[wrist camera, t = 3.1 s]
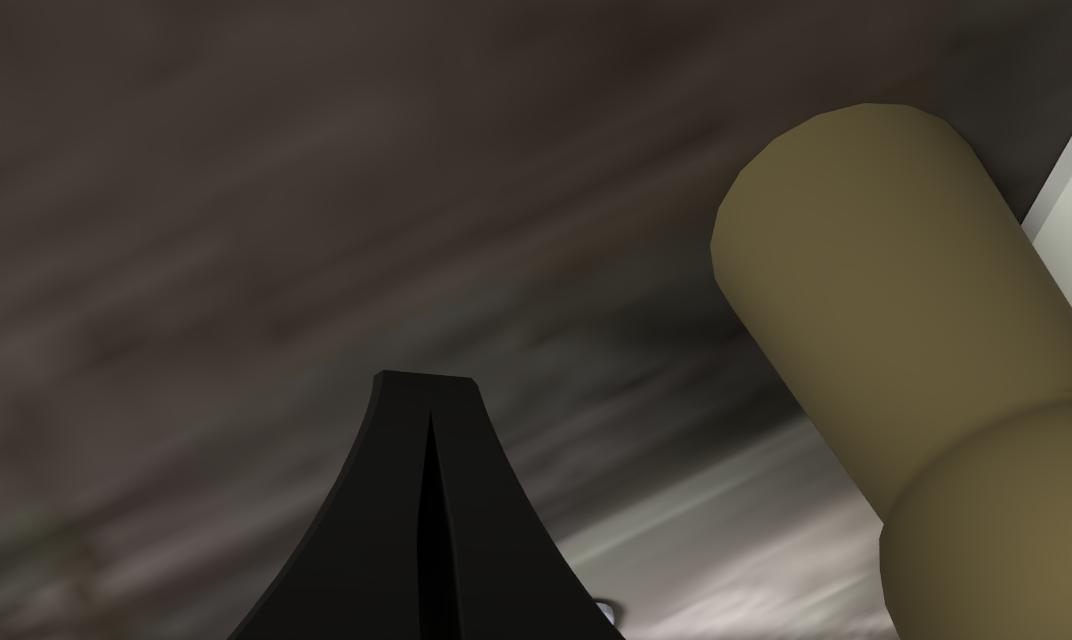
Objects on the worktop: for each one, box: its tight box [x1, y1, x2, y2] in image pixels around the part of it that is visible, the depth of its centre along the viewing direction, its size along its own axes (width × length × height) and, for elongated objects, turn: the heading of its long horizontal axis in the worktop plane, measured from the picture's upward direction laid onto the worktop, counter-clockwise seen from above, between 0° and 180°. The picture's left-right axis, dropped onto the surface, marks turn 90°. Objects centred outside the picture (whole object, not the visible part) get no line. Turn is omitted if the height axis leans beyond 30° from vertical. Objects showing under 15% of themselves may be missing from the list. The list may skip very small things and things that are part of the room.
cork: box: [710, 103, 1072, 640], centre depth 17 cm, size 6×6×11 cm
